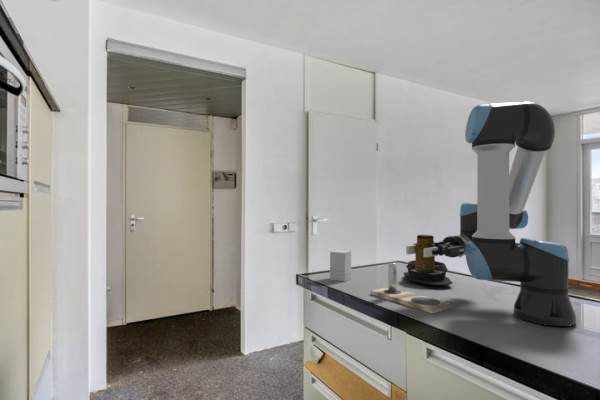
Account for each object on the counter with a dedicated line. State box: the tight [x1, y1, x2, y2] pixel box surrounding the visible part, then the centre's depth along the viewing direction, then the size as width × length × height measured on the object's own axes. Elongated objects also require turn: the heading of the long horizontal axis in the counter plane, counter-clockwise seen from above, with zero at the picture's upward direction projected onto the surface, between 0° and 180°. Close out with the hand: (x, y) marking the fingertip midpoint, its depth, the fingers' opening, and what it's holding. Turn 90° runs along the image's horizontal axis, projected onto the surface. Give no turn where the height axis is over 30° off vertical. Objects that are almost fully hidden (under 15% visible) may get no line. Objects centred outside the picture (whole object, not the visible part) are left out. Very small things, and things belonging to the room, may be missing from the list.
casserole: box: [402, 260, 454, 286], centre depth 148 cm, size 25×19×8 cm
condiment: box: [410, 234, 443, 275], centre depth 113 cm, size 7×8×12 cm
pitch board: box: [370, 286, 452, 314], centre depth 119 cm, size 26×10×2 cm, turn 34°
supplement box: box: [329, 249, 352, 282], centre depth 152 cm, size 7×7×13 cm
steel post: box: [387, 262, 398, 293], centre depth 125 cm, size 3×3×12 cm
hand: (415, 251), depth 111 cm, fingers closed on condiment, 6 cm apart
